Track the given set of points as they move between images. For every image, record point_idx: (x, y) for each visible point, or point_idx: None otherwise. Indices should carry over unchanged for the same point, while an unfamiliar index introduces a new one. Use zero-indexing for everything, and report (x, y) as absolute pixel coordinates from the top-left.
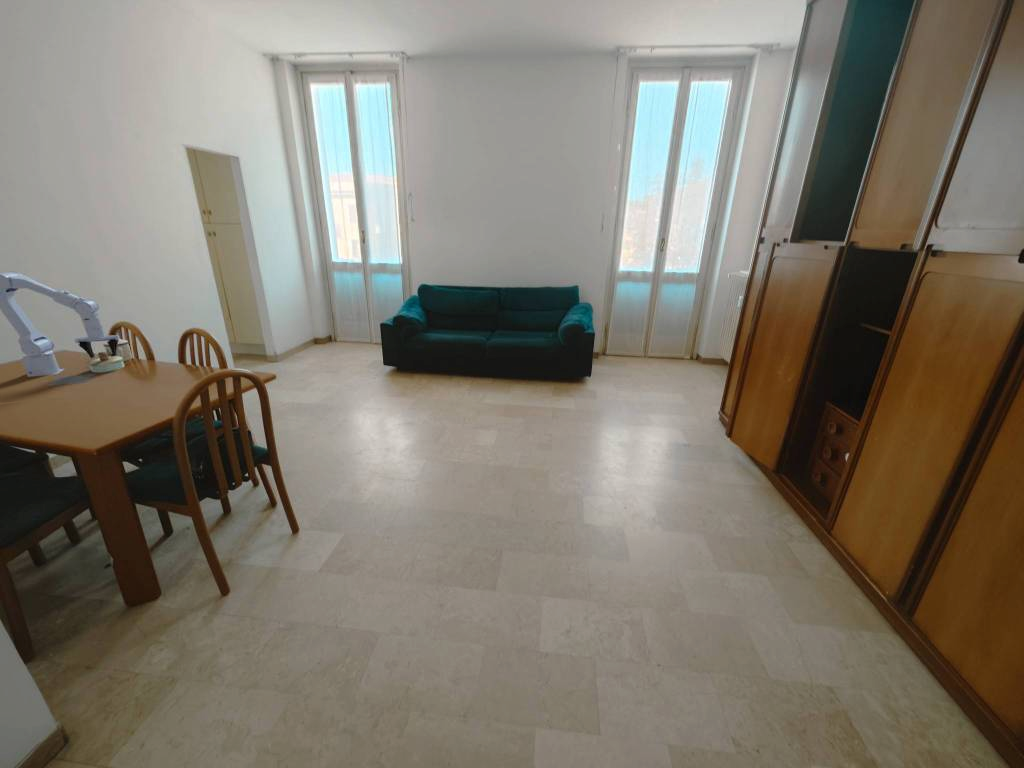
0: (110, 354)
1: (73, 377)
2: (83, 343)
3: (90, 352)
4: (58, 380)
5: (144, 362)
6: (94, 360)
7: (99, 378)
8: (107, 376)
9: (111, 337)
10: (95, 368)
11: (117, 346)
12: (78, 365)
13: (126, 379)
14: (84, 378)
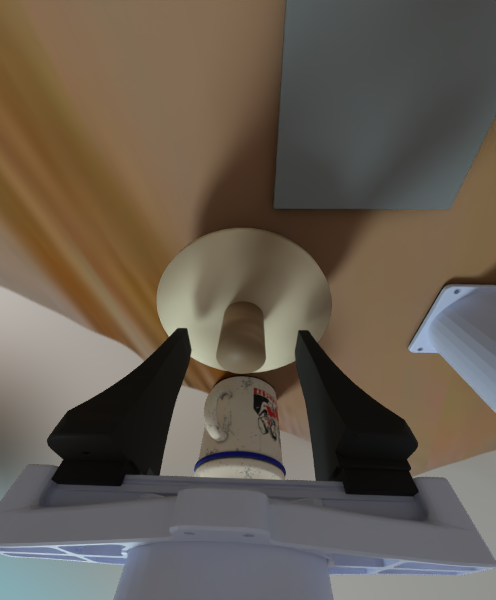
0: (261, 410)
1: (386, 162)
2: (370, 462)
3: (309, 363)
4: (473, 111)
5: (143, 342)
6: (296, 329)
7: (234, 85)
8: (200, 128)
9: (42, 525)
10: None
11: (224, 447)
12: (363, 382)
13: None
14: (322, 86)
